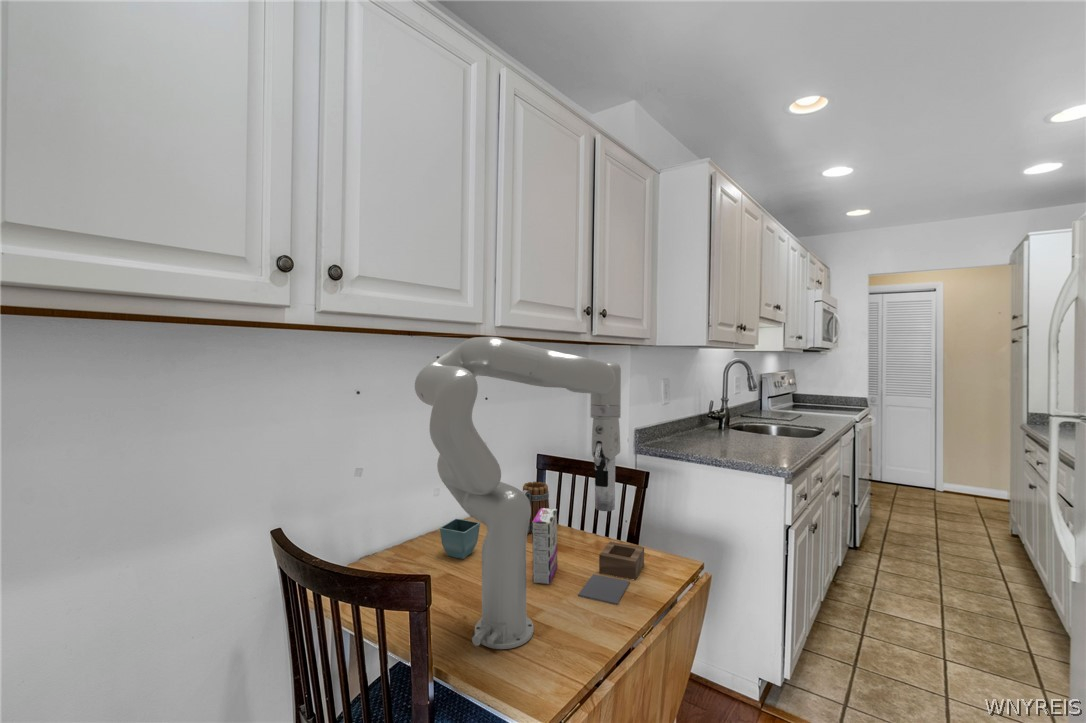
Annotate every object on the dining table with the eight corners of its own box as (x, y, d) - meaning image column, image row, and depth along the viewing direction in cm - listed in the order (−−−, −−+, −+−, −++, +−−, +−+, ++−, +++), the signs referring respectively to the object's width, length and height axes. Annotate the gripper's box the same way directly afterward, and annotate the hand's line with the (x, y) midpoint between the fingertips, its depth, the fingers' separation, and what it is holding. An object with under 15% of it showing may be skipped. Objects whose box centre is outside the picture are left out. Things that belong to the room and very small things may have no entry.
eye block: (635, 580, 127) (635, 561, 127) (599, 573, 131) (599, 554, 131) (644, 565, 136) (644, 547, 136) (609, 558, 140) (609, 541, 140)
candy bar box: (540, 564, 136) (540, 507, 136) (557, 566, 135) (557, 508, 135) (531, 583, 125) (531, 520, 125) (550, 585, 124) (550, 522, 124)
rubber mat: (617, 604, 115) (617, 603, 115) (577, 596, 119) (577, 594, 119) (629, 582, 126) (629, 581, 126) (593, 575, 130) (593, 573, 130)
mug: (528, 521, 171) (528, 479, 171) (555, 526, 167) (556, 482, 166) (506, 536, 157) (506, 490, 157) (535, 542, 153) (535, 494, 152)
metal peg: (611, 512, 119) (612, 455, 118) (592, 509, 121) (592, 453, 120) (617, 506, 123) (617, 451, 123) (598, 503, 125) (598, 450, 125)
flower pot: (464, 563, 137) (464, 532, 137) (439, 558, 140) (438, 527, 140) (480, 551, 145) (480, 522, 145) (455, 547, 149) (455, 518, 148)
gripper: (610, 416, 112) (609, 494, 112) (628, 408, 128) (628, 477, 128) (579, 414, 115) (579, 490, 116) (601, 407, 131) (600, 474, 131)
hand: (604, 482), depth 122 cm, fingers closed on metal peg, 5 cm apart
